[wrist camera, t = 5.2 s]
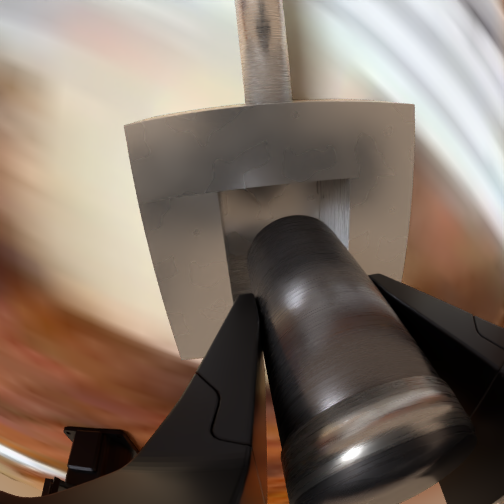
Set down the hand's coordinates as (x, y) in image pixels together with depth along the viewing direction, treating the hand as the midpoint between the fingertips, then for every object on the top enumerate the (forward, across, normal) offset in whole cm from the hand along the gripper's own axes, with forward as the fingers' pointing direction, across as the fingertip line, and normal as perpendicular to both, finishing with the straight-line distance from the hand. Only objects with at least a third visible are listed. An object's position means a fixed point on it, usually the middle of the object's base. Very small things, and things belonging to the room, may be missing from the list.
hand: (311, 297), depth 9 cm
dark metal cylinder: (+2, 0, 0) cm, 2 cm away
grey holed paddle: (+8, 0, -5) cm, 9 cm away
